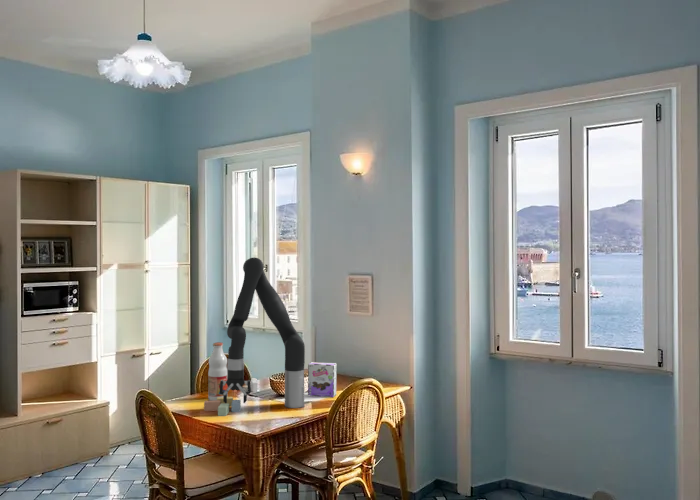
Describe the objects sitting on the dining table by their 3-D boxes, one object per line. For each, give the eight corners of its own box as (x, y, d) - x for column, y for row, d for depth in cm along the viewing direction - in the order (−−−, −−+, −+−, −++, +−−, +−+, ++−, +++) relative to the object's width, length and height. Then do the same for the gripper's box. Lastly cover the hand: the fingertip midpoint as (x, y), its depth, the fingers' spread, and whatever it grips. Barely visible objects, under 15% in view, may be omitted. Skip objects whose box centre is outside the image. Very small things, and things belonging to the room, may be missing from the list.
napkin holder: (258, 394, 320) (258, 383, 320) (238, 392, 324) (238, 381, 324) (271, 388, 334) (271, 377, 334) (252, 386, 338) (252, 376, 338)
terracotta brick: (220, 408, 289) (220, 400, 289) (219, 410, 286) (220, 402, 286) (204, 409, 289) (204, 400, 288) (204, 411, 285) (204, 402, 285)
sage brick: (221, 412, 284) (221, 403, 284) (229, 412, 284) (229, 403, 284) (217, 416, 277) (217, 407, 277) (226, 416, 277) (226, 407, 277)
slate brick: (232, 408, 290) (232, 399, 290) (240, 408, 291) (240, 399, 291) (231, 412, 283) (231, 403, 283) (239, 412, 284) (239, 403, 284)
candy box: (307, 395, 314) (307, 363, 314) (311, 393, 320) (311, 361, 320) (333, 397, 311) (333, 364, 311) (336, 394, 317) (336, 362, 317)
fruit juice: (211, 396, 312) (211, 341, 312) (229, 397, 311) (229, 341, 311) (205, 401, 303) (205, 344, 303) (224, 401, 302) (224, 344, 302)
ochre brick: (232, 404, 297) (232, 396, 297) (232, 406, 293) (232, 398, 293) (217, 405, 295) (217, 397, 295) (217, 407, 291) (217, 399, 291)
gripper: (251, 366, 292) (251, 401, 292) (221, 366, 291) (220, 400, 291) (250, 369, 284) (249, 405, 284) (219, 369, 283) (218, 404, 283)
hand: (235, 402), depth 287 cm, fingers open, 8 cm apart
